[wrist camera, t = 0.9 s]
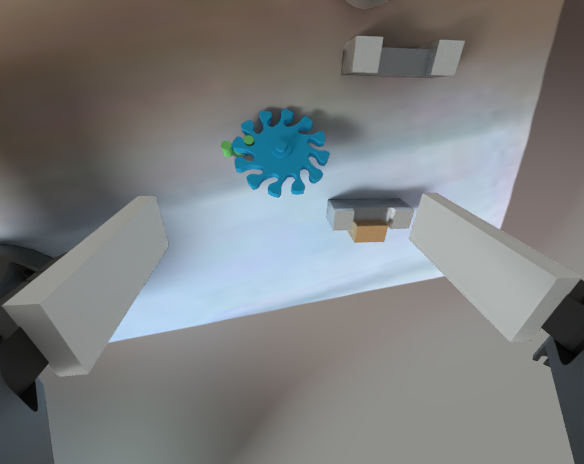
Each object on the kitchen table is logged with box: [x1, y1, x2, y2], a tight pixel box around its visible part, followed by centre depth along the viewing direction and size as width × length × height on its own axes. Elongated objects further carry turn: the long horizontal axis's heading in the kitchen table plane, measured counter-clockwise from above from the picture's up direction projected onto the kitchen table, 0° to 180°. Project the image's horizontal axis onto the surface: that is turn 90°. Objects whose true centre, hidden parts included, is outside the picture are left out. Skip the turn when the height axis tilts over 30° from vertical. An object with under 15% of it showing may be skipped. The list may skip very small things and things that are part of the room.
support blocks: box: [326, 36, 465, 243], centre depth 28 cm, size 10×21×4 cm, turn 179°
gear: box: [221, 109, 330, 198], centre depth 27 cm, size 11×6×10 cm
